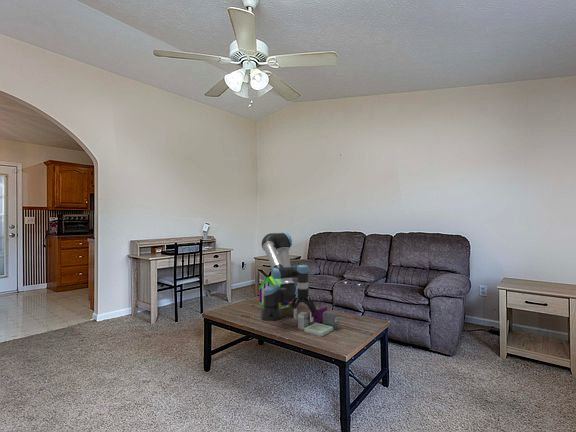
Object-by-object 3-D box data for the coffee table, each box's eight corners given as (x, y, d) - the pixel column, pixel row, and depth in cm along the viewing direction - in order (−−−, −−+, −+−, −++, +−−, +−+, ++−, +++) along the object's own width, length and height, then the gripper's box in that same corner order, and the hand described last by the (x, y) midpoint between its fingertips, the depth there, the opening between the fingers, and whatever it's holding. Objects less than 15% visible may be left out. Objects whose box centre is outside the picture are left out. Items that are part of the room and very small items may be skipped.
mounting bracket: (305, 327, 241) (321, 321, 229) (301, 315, 244) (317, 309, 232) (314, 324, 247) (330, 318, 235) (310, 312, 250) (326, 306, 238)
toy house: (289, 306, 274) (289, 276, 273) (277, 310, 264) (276, 279, 264) (271, 301, 292) (271, 273, 291) (259, 304, 282) (258, 275, 282)
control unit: (322, 327, 223) (322, 312, 223) (326, 324, 227) (326, 310, 227) (334, 330, 217) (334, 314, 217) (338, 327, 221) (338, 313, 221)
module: (297, 328, 221) (297, 313, 221) (302, 326, 225) (302, 311, 225) (304, 329, 218) (303, 314, 218) (308, 327, 222) (308, 312, 222)
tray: (304, 331, 214) (304, 328, 214) (316, 326, 224) (316, 322, 224) (321, 336, 205) (321, 332, 205) (333, 330, 216) (333, 326, 216)
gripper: (285, 287, 227) (285, 317, 226) (314, 291, 211) (315, 324, 211) (292, 285, 233) (292, 315, 232) (321, 289, 217) (322, 321, 216)
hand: (303, 319), depth 221 cm, fingers open, 13 cm apart
